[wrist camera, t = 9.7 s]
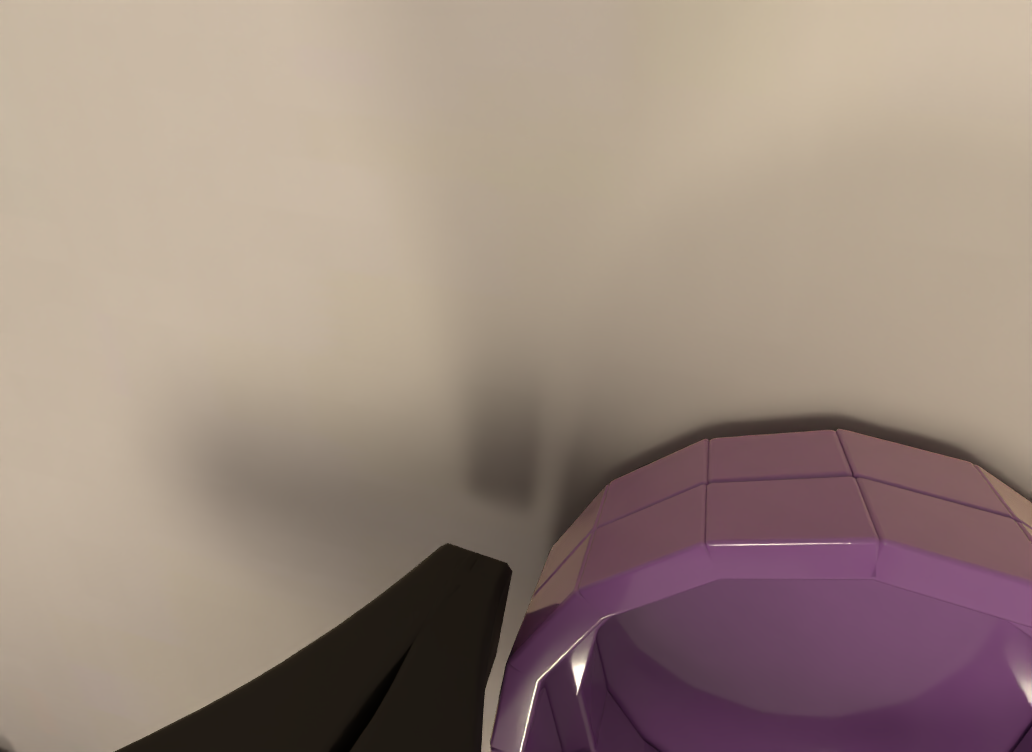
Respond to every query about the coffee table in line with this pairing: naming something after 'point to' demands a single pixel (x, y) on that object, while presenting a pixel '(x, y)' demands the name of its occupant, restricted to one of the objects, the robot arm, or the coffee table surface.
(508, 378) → the coffee table surface
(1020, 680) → the dish lilac
